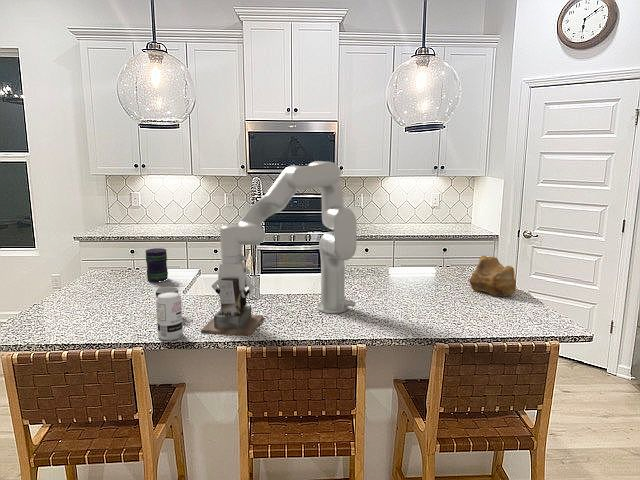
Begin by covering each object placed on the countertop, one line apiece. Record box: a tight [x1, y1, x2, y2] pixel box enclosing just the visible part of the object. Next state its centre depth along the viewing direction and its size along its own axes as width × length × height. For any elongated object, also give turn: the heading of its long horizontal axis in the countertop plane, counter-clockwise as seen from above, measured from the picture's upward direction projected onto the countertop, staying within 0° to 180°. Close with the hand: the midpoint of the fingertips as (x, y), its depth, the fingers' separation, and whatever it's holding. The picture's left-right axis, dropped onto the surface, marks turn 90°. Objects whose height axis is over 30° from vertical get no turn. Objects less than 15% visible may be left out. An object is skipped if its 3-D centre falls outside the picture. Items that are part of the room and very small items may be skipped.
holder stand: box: [200, 305, 264, 336], centre depth 180 cm, size 18×18×6 cm
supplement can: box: [155, 292, 184, 341], centre depth 168 cm, size 8×8×15 cm
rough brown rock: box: [468, 255, 517, 298], centre depth 223 cm, size 23×17×15 cm
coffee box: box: [220, 279, 247, 316], centre depth 179 cm, size 9×6×16 cm
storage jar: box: [145, 247, 169, 283], centre depth 239 cm, size 10×10×15 cm
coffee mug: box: [154, 286, 180, 298], centre depth 189 cm, size 12×9×10 cm
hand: (233, 306), depth 179 cm, fingers closed on coffee box, 6 cm apart
